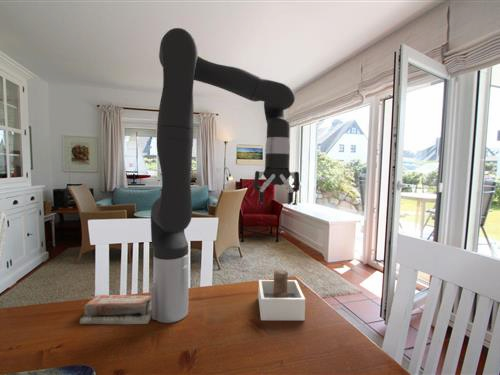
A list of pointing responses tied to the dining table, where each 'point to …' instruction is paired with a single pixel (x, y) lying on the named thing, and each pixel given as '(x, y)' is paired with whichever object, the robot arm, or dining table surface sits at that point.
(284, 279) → the peg
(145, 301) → the packaged product
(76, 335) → the dining table surface
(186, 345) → the dining table surface
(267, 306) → the open box
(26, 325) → the dining table surface
